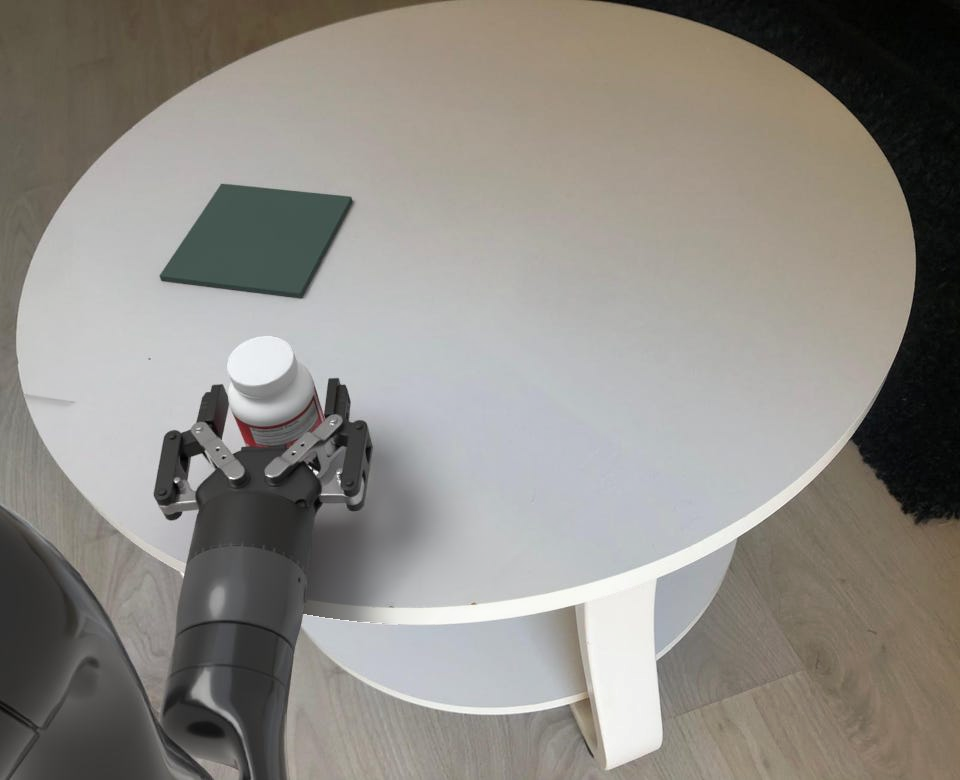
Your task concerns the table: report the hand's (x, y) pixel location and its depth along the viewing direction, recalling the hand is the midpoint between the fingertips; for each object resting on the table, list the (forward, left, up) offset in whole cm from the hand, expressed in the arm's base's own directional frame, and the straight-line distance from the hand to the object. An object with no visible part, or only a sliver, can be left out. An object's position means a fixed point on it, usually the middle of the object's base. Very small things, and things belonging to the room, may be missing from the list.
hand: (278, 388), depth 73 cm
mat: (-13, +23, -7) cm, 27 cm away
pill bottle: (0, -1, -7) cm, 7 cm away
